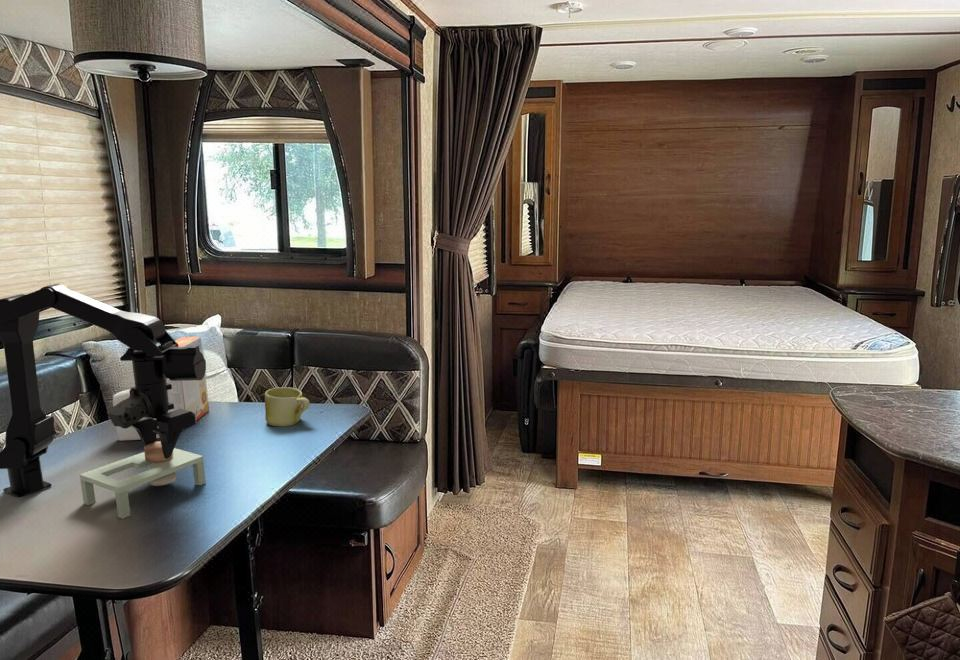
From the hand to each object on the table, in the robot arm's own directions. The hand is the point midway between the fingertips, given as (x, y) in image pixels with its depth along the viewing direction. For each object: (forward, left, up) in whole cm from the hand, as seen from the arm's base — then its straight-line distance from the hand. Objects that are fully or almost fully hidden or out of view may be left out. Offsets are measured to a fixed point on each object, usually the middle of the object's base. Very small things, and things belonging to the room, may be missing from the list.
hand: (159, 455), depth 144 cm
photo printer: (-31, +15, -7) cm, 36 cm away
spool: (0, 0, -5) cm, 5 cm away
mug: (-7, +41, -7) cm, 43 cm away
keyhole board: (0, -4, -7) cm, 8 cm away
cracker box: (-33, +30, -7) cm, 46 cm away
